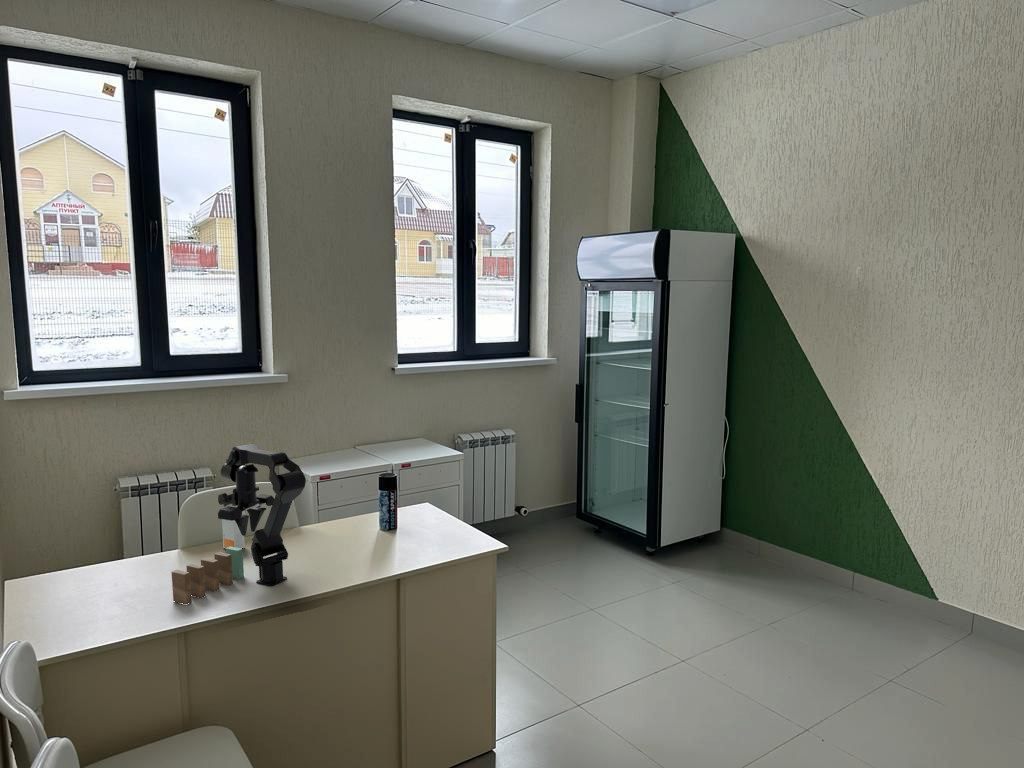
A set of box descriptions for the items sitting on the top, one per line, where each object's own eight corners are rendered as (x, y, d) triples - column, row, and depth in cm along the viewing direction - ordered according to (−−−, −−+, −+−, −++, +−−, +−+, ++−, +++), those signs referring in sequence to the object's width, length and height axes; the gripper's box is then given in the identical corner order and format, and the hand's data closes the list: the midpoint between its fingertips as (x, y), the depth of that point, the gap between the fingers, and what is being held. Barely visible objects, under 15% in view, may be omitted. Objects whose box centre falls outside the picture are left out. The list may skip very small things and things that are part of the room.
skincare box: (222, 548, 240) (220, 514, 239) (233, 544, 244) (231, 511, 242) (235, 551, 237) (233, 517, 236) (245, 547, 241) (243, 514, 239)
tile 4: (193, 593, 204) (191, 563, 203) (205, 596, 202) (204, 566, 201) (188, 595, 203) (186, 565, 202) (200, 598, 201) (199, 568, 200)
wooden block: (220, 580, 213) (219, 552, 212) (232, 583, 211) (231, 554, 210) (215, 582, 212) (214, 554, 211) (228, 585, 210) (226, 556, 209)
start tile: (231, 574, 218) (230, 546, 217) (243, 576, 216) (242, 548, 215) (227, 576, 217) (225, 548, 215) (239, 579, 214) (237, 550, 213)
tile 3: (207, 586, 209) (205, 557, 208) (219, 589, 207) (218, 560, 206) (202, 589, 207) (200, 559, 206) (214, 591, 205) (213, 562, 204)
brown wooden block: (178, 599, 200) (176, 569, 199) (191, 603, 198) (189, 572, 197) (173, 602, 198) (171, 571, 197) (186, 605, 196) (184, 574, 195)
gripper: (247, 475, 229) (249, 521, 231) (202, 489, 212) (205, 539, 214) (274, 478, 225) (276, 525, 227) (231, 493, 208) (233, 544, 210)
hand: (248, 533), depth 219 cm, fingers open, 4 cm apart
